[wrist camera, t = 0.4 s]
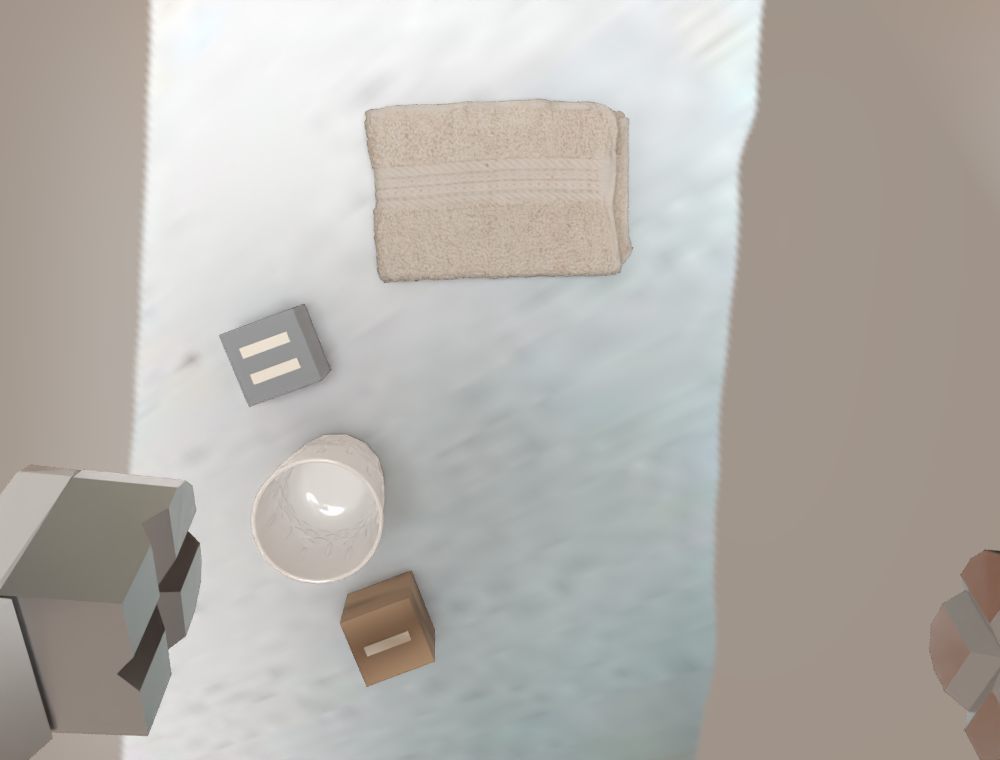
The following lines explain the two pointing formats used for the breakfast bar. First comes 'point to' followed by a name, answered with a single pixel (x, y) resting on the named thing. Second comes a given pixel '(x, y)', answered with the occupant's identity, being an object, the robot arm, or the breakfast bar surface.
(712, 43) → the breakfast bar surface
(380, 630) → the walnut block
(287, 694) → the breakfast bar surface
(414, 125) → the washcloth
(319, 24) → the breakfast bar surface
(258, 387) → the slate-grey block
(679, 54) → the breakfast bar surface
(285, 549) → the white cup
